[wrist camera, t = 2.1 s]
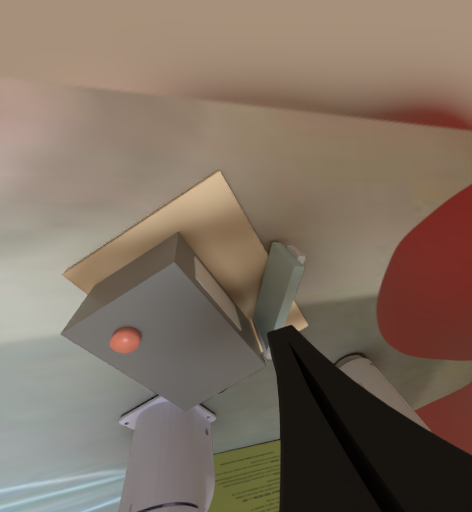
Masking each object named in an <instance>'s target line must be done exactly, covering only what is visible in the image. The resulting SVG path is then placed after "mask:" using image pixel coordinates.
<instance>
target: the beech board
mask: <svg viewBox="0 0 472 512" xmlns="http://www.w3.org/2000/svg"><path fill="white" fill-rule="evenodd" d="M177 232H179V233H180V234H181V235H182V237H183V238H184V239H185V240H186V242H187V243H188V244H189V246H190V247H191V248H192V249H193V251H194V252H195V253H196V254H197V256H198V257H199V258H200V259H201V261H202V262H203V263H204V264H205V266H206V267H207V268H208V269H209V271H210V272H211V273H212V274H213V276H214V277H215V278H216V279H217V281H218V282H219V283H220V284H221V286H222V287H223V288H224V290H225V291H226V292H227V293H228V295H229V296H230V297H231V298H232V300H233V301H234V302H235V303H236V305H237V306H238V307H239V308H240V310H241V311H242V312H243V313H244V315H245V316H246V317H247V318H248V320H249V321H250V322H251V325H252V328H253V330H254V333H255V336H256V339H257V341H258V344H259V347H260V350H261V353H262V352H263V349H262V346H261V344H260V341H259V338H258V336H257V333H256V330H255V328H254V325H253V322H252V317H253V315H254V311H255V307H256V303H257V299H258V295H259V292H260V288H261V284H262V280H263V276H264V272H265V268H266V265H267V261H268V257H269V256H268V254H267V252H266V251H265V249H264V247H263V245H262V244H261V242H260V240H259V238H258V237H257V235H256V233H255V231H254V230H253V228H252V226H251V224H250V223H249V221H248V219H247V217H246V216H245V214H244V212H243V211H242V209H241V207H240V205H239V204H238V202H237V200H236V198H235V197H234V195H233V193H232V191H231V190H230V188H229V186H228V184H227V183H226V181H225V179H224V177H223V176H222V174H221V172H220V171H219V170H218V171H217V172H215V173H214V174H212V175H211V176H209V177H207V178H206V179H204V180H203V181H201V182H200V183H198V184H197V185H195V186H194V187H192V188H191V189H189V190H188V191H186V192H185V193H183V194H182V195H180V196H179V197H177V198H176V199H174V200H173V201H171V202H170V203H168V204H167V205H165V206H164V207H162V208H160V209H159V210H157V211H156V212H154V213H153V214H151V215H150V216H148V217H147V218H145V219H144V220H142V221H141V222H139V223H138V224H136V225H135V226H133V227H132V228H130V229H129V230H127V231H126V232H124V233H123V234H121V235H120V236H118V237H116V238H115V239H113V240H112V241H110V242H109V243H107V244H106V245H104V246H103V247H101V248H100V249H98V250H97V251H95V252H94V253H92V254H91V255H89V256H88V257H86V258H85V259H83V260H82V261H80V262H79V263H77V264H76V265H74V266H72V267H71V268H69V269H68V270H66V271H65V272H64V273H63V274H62V275H63V276H64V277H65V278H67V279H68V280H69V281H71V282H72V283H73V284H75V285H76V286H77V287H78V288H80V289H81V290H82V291H84V292H85V293H86V294H89V293H90V291H91V290H92V288H93V287H94V286H95V285H96V284H98V283H99V282H101V281H102V280H104V279H105V278H107V277H109V276H110V275H112V274H113V273H115V272H116V271H118V270H119V269H121V268H122V267H124V266H126V265H127V264H129V263H130V262H132V261H133V260H135V259H136V258H138V257H140V256H141V255H143V254H144V253H146V252H147V251H149V250H150V249H152V248H153V247H155V246H157V245H158V244H160V243H161V242H163V241H164V240H166V239H167V238H169V237H171V236H172V235H174V234H175V233H177ZM289 325H293V326H294V327H295V328H296V329H297V330H298V331H300V330H302V329H303V328H305V327H307V326H308V324H307V322H306V320H305V319H304V317H303V315H302V313H301V312H300V310H299V308H298V306H297V305H296V303H295V301H294V300H293V303H292V306H291V309H290V311H289V314H288V317H287V320H286V323H285V326H289ZM285 326H284V327H285Z"/></svg>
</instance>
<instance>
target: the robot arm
mask: <svg viewBox="0 0 472 512" xmlns="http://www.w3.org/2000/svg"><path fill="white" fill-rule="evenodd" d="M267 339H268V344H269V348H270V353H271V358H272V361H273V364H274V367H275V371H276V375H277V385H278V396H279V411H280V502H279V512H472V455H470V454H469V453H467V452H465V451H463V450H461V449H459V448H458V447H456V446H454V445H453V444H451V443H449V442H447V441H446V440H443V439H442V438H440V437H439V436H437V435H435V434H434V433H432V432H430V431H429V430H427V429H425V428H424V427H422V426H420V425H419V424H417V423H416V422H414V421H412V420H411V419H409V418H408V417H406V416H405V415H403V414H401V413H400V412H398V411H397V410H395V409H394V408H392V407H390V406H389V405H387V404H386V403H385V402H383V401H382V400H380V399H379V398H377V397H376V396H374V395H373V394H372V393H370V392H369V391H367V390H366V389H365V388H363V387H362V386H361V385H359V384H358V383H357V382H355V381H354V380H353V379H351V378H350V377H349V376H348V375H346V374H345V373H344V372H343V371H341V370H340V369H339V368H338V367H336V366H335V365H334V364H333V363H332V362H331V361H329V360H328V359H327V358H326V357H325V356H324V355H323V354H322V353H320V352H319V351H318V350H317V349H316V348H315V347H314V346H313V345H312V344H311V343H310V342H309V341H308V340H307V339H306V338H305V337H304V336H303V335H302V334H301V333H300V332H299V331H298V330H297V329H296V328H295V327H294V326H293V325H289V326H285V327H282V328H279V329H276V330H273V331H270V332H268V333H267ZM215 420H216V415H214V414H213V413H211V412H210V411H208V410H207V409H205V408H204V407H202V406H201V405H199V404H198V405H196V406H195V407H193V408H191V409H189V410H188V411H184V410H183V409H181V408H179V407H178V406H176V405H175V404H173V403H171V402H170V401H168V400H166V399H165V398H163V397H162V396H160V395H159V396H157V397H155V398H153V399H152V400H150V401H148V402H147V403H145V404H143V405H141V406H140V407H138V408H136V409H135V410H133V411H131V412H129V413H128V414H126V415H124V416H122V417H121V418H120V420H119V423H120V424H122V425H124V426H126V427H129V428H131V429H133V430H134V434H133V439H132V444H131V449H130V454H129V459H128V465H127V470H126V475H125V480H124V485H123V490H122V495H121V500H120V505H119V511H118V512H207V511H208V509H209V507H210V504H211V501H212V498H213V494H214V487H215V470H214V458H213V445H212V433H211V423H212V422H213V421H215Z"/></svg>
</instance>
